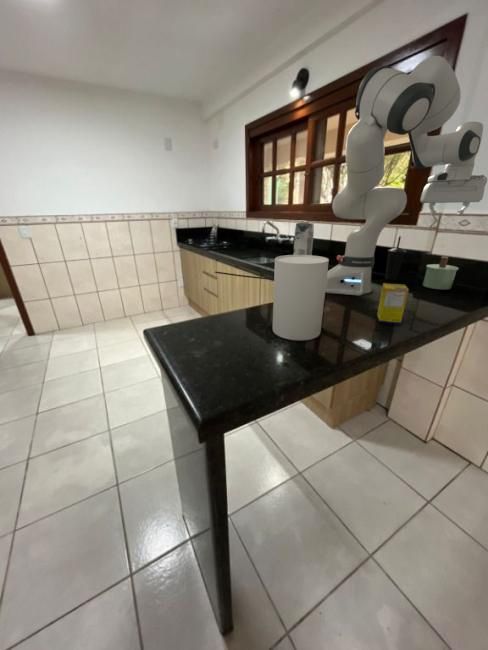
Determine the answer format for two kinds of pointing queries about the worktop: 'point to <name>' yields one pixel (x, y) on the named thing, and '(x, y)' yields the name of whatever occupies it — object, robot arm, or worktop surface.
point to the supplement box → (392, 303)
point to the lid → (442, 265)
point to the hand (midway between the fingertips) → (445, 215)
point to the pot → (439, 279)
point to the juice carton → (303, 238)
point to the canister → (299, 296)
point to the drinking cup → (394, 262)
